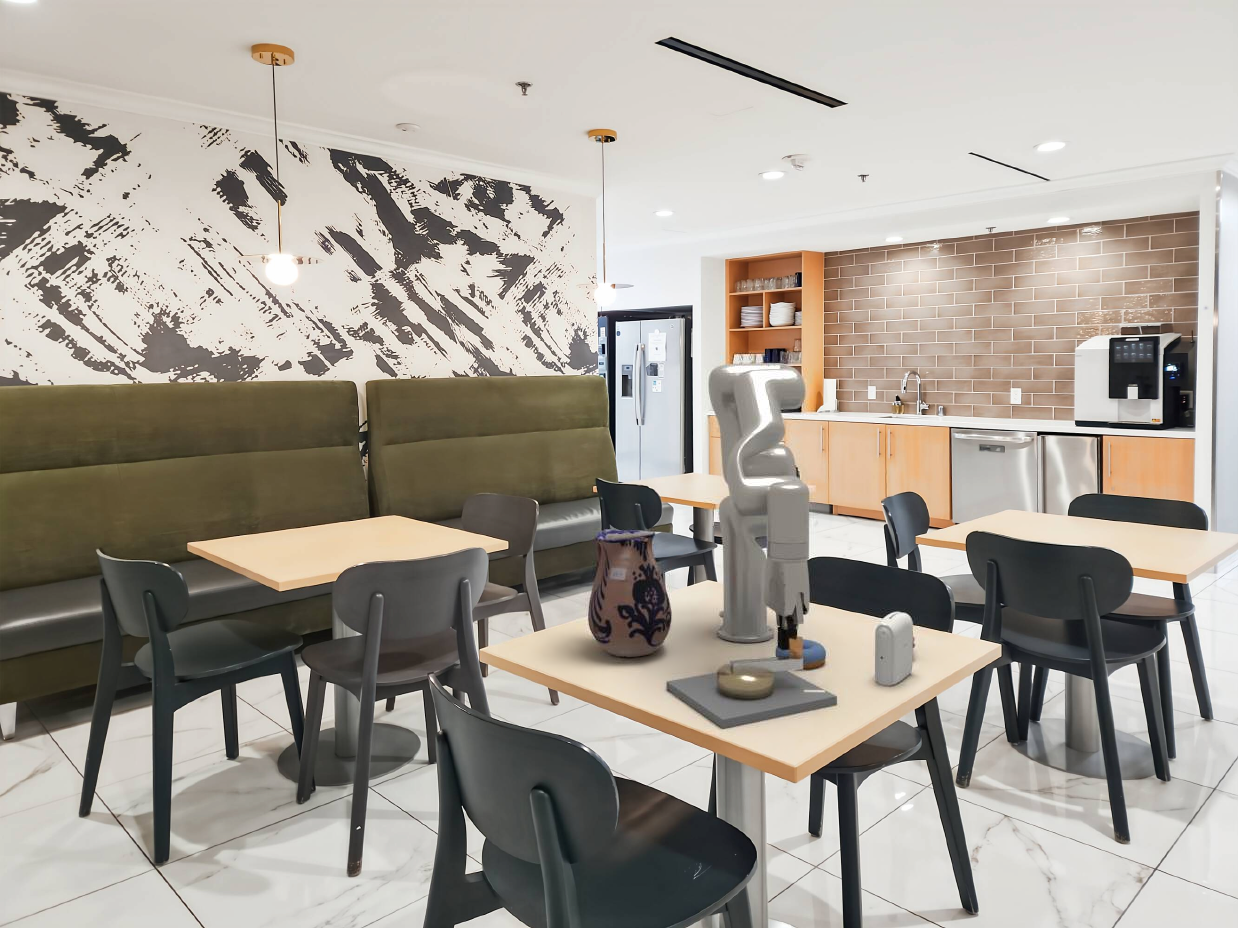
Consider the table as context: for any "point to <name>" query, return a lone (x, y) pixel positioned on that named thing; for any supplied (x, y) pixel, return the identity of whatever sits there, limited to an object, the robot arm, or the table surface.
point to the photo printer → (893, 648)
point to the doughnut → (808, 654)
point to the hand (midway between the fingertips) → (787, 648)
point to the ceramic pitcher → (628, 595)
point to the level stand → (731, 711)
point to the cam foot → (758, 673)
